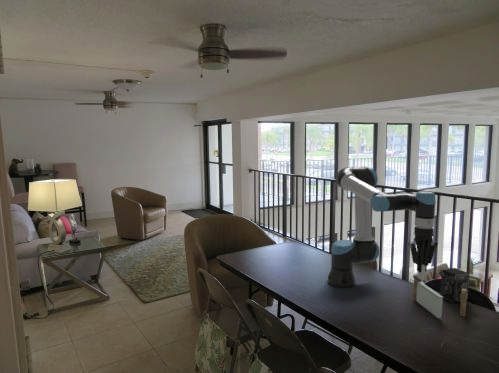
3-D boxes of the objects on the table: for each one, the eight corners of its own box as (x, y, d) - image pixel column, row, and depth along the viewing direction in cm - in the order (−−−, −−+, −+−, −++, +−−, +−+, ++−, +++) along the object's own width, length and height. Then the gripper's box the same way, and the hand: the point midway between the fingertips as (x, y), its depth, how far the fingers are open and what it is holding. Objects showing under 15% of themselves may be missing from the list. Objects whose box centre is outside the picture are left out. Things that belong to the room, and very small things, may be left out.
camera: (455, 306, 167) (457, 276, 165) (438, 297, 177) (439, 268, 175) (472, 303, 169) (475, 274, 167) (454, 294, 179) (456, 266, 178)
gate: (415, 300, 171) (417, 281, 169) (419, 300, 171) (420, 281, 170) (437, 318, 154) (439, 297, 153) (441, 317, 154) (443, 296, 153)
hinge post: (410, 300, 173) (412, 276, 171) (413, 298, 175) (414, 274, 174) (417, 302, 171) (418, 277, 169) (419, 300, 173) (421, 276, 171)
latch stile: (459, 315, 159) (461, 289, 157) (461, 313, 160) (463, 288, 159) (464, 316, 157) (466, 291, 156) (465, 314, 159) (467, 289, 158)
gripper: (416, 229, 147) (413, 283, 150) (443, 228, 150) (440, 280, 153) (405, 225, 155) (402, 276, 158) (431, 224, 157) (428, 274, 160)
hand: (421, 278), depth 155 cm, fingers closed
